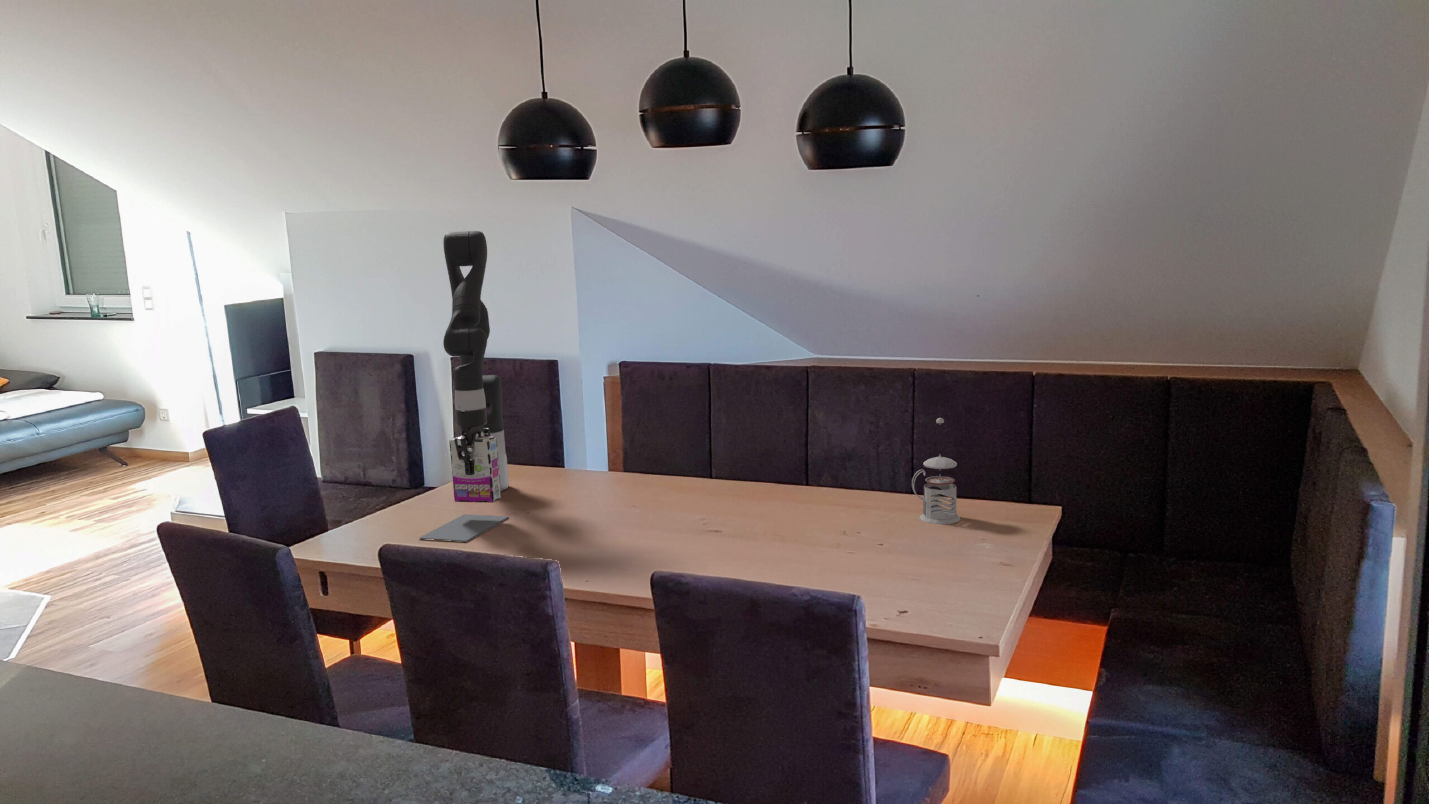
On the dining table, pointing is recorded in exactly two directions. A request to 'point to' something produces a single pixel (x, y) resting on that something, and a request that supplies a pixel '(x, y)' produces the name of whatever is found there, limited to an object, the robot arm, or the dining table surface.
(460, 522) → the mat
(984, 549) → the dining table surface
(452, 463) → the candy bar box
